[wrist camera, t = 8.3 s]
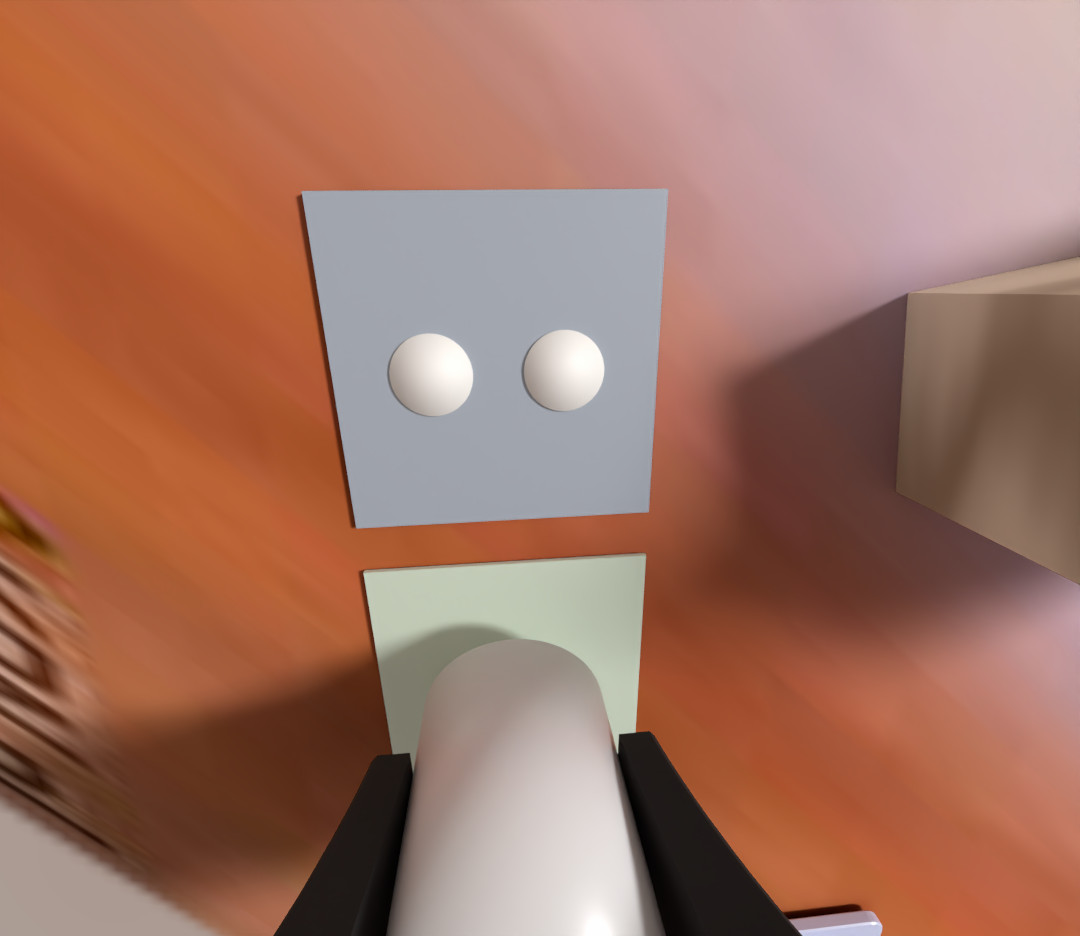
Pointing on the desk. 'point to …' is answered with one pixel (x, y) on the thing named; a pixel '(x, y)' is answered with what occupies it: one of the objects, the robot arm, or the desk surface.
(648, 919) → the white capsule cylinder
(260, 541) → the desk surface
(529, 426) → the pad two
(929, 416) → the birch block
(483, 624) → the pad one
